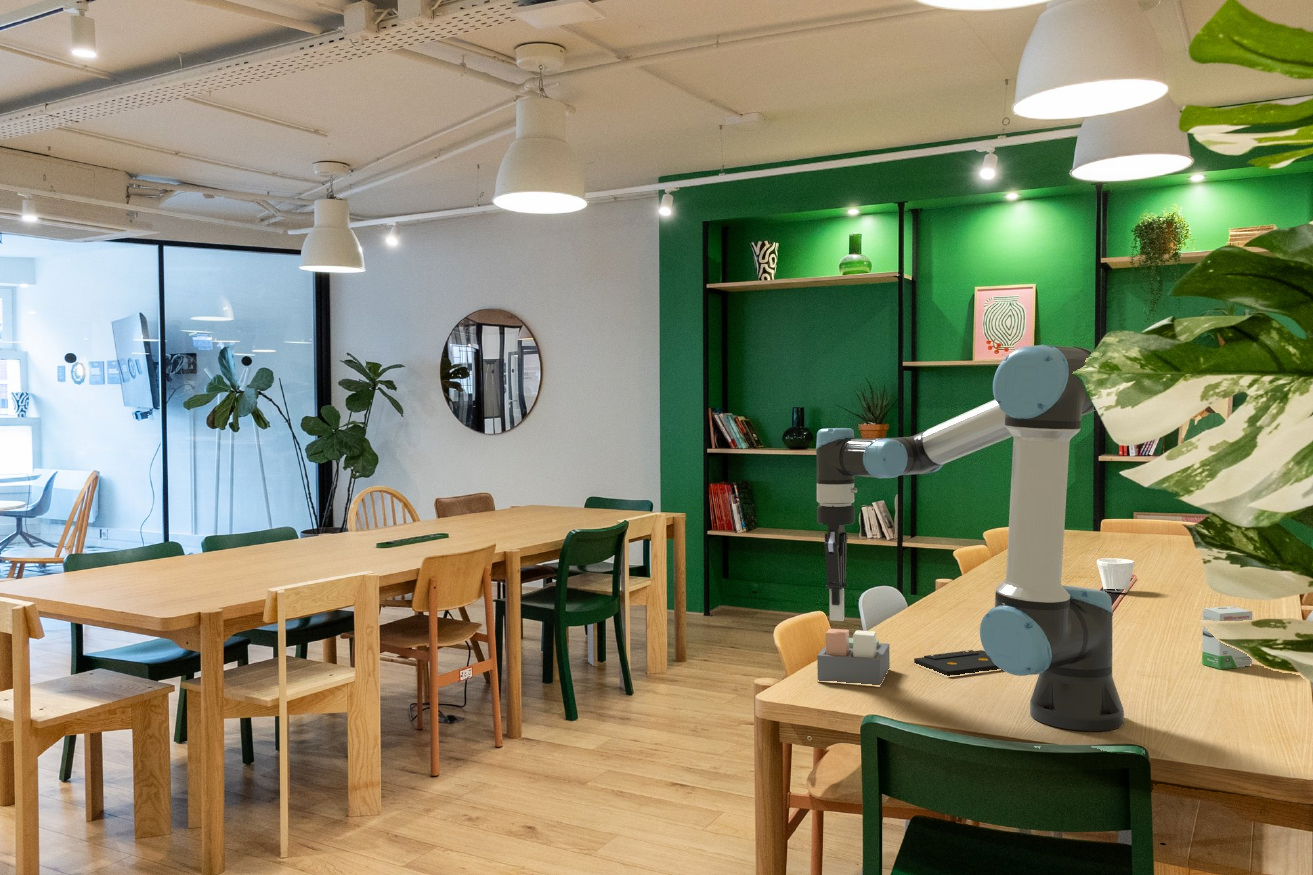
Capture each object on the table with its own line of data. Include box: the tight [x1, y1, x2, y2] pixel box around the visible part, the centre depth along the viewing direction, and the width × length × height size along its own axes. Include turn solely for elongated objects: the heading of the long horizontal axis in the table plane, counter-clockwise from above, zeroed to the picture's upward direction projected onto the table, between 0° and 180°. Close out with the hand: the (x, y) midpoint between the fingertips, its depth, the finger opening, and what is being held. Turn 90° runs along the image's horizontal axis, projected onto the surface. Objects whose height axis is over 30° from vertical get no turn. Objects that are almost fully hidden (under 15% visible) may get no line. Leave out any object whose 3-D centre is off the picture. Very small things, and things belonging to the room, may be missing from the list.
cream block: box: [852, 629, 877, 658], centre depth 197 cm, size 4×4×6 cm
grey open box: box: [816, 637, 891, 685], centre depth 201 cm, size 14×12×6 cm
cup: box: [1096, 557, 1135, 594], centre depth 286 cm, size 10×10×9 cm
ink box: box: [1201, 605, 1253, 670], centre depth 204 cm, size 9×5×12 cm, turn 105°
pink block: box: [825, 628, 850, 656], centre depth 199 cm, size 4×4×6 cm
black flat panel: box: [913, 649, 1000, 676], centre depth 207 cm, size 18×12×2 cm, turn 111°
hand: (836, 619), depth 199 cm, fingers closed
